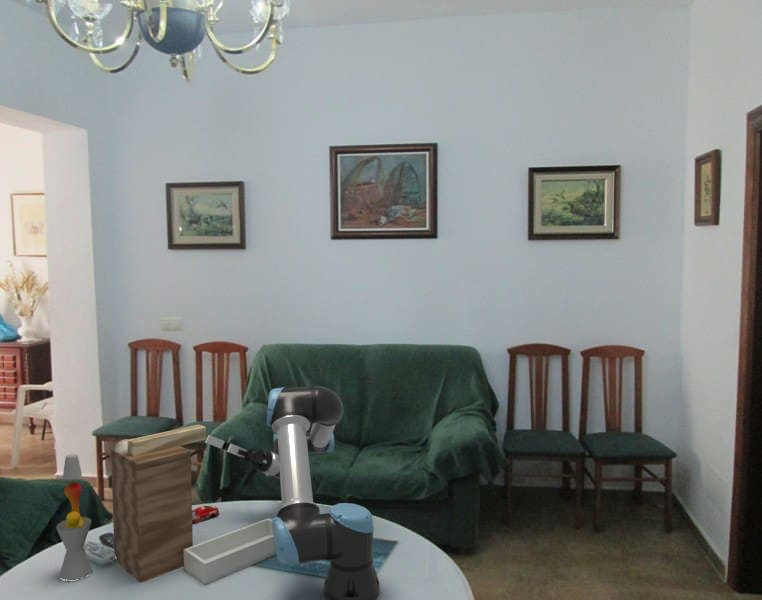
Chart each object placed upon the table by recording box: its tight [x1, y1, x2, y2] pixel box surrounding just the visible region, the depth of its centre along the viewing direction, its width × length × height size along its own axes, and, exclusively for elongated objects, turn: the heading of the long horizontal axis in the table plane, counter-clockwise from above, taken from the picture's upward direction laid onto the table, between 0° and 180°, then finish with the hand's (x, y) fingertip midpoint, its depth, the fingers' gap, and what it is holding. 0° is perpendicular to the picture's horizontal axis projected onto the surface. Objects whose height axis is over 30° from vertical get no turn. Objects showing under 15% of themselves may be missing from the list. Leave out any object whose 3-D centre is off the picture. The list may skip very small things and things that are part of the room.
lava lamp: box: [55, 453, 93, 580], centre depth 173 cm, size 9×9×35 cm
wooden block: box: [110, 439, 194, 583], centre depth 180 cm, size 18×16×37 cm
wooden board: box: [127, 424, 207, 456], centre depth 183 cm, size 4×23×4 cm, turn 136°
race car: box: [192, 505, 220, 526], centre depth 211 cm, size 13×5×4 cm, turn 132°
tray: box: [183, 517, 277, 585], centre depth 183 cm, size 12×30×6 cm, turn 136°
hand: (218, 443), depth 196 cm, fingers open, 13 cm apart
